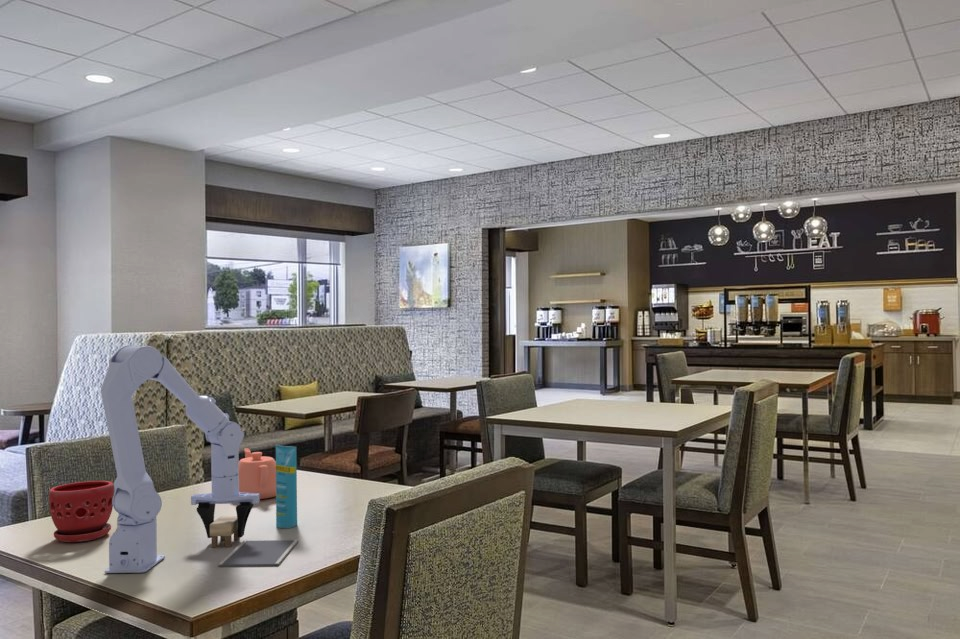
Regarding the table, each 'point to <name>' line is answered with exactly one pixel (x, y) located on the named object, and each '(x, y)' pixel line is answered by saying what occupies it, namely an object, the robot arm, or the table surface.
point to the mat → (259, 553)
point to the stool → (224, 530)
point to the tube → (286, 486)
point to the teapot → (257, 474)
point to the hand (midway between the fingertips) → (225, 536)
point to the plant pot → (81, 510)
